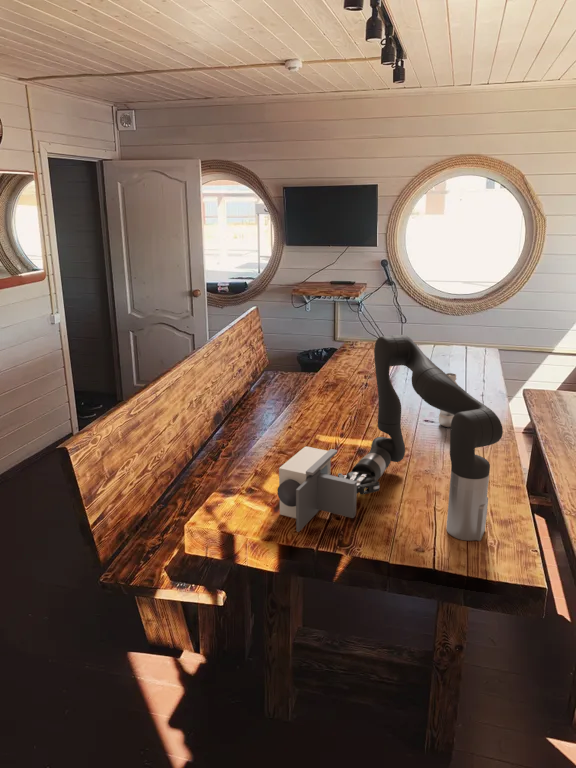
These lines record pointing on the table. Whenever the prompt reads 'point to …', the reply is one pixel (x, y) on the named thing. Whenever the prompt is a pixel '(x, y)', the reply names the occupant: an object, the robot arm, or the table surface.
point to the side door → (325, 497)
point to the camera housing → (300, 475)
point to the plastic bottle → (444, 416)
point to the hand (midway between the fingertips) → (346, 495)
